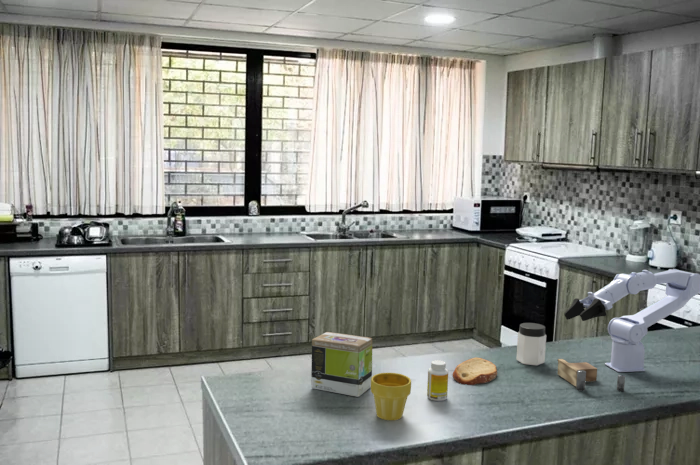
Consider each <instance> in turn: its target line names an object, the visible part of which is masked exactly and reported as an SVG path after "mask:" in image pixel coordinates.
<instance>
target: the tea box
mask: <svg viewBox="0 0 700 465" xmlns="http://www.w3.org/2000/svg"><path fill="white" fill-rule="evenodd" d="M310 375H311V379H310V380H311V389H314V390H319V391H324V392H331V393H336V394H340V395H341V394H342V395H345V396H346V395H347V396H351V397H357V398H359V397H360V396H362V395H363V394H364V393H366V392H367V391H368V390H369V389H371V378H372V377H373V376H372V375H373V338H372V337H368V336H362V335H361V336H359V335H354V334H353V335H352V334H346V333H338V332H331V331H326V332H324V333H322V334H320V335H318V336H317V337H314V338H312V339H311V374H310Z"/></svg>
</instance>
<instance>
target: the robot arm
mask: <svg viewBox="0 0 700 465" xmlns="http://www.w3.org/2000/svg"><path fill="white" fill-rule="evenodd" d="M662 284H663V285H664V284H666V286H665V294H666V295H665V296H664V297H663V298H660V299H659V300H658V301H656V302H654V303H652V304H651V305H649V306H647V307H645V308H643V309H642V310H640V311H638V312H636V313H635V314H629V315H622V316H620V317H613V318H612V319H611V320H610V321H609V323H608V325H607V332H608V335H609V336H610V338H611V340H612V343H611V354H610V362H605V363H604V365H606V366H607V367H609V368H610V369H613V370H615V371H616V372H617V373H629V372H645V371H646V369H645V368H644V367H645V354H646V350H645V345H644V344H643V342H642V340H643V338H644V337H645V336H647V335H648V328H649V327H651V326H652V325H655V324H656V323H658V322H660V321H661V320H664V319H665V318H667V317H668V316H670V315H672V314H674V313H676V312H677V311H679V310H680V309H682V308H684V307H685V305H686V304H687V303H689V301H690V300H691V299H692V298H694V297H695V296H697V295H698V294H700V273H697V272H696V273H693V272H690V271H686V270H685V271H684V270H679V269H676V268H669V269H668V270H664V271H660V272H655V273H653V272H652V271H649V270H647V269H642V270H641V272H635V271H632V272H630V273H629V274H627V273H617V274H616V275H615V276H614V278H613V280H611V282H609V283H608V284H606V285H605V286H603V287H602V288H600V289H599V290H597V291H595V292H592V291H588V292H587V296H586V297H584V298H582V299H579V298H574V299H573V301H572V303H571V305H570V306H569V308H568V309H567V310H566V311H565V312H564V313H563V314H564V317H565V319H566V320H567V321H568V320H572V319H574V318H577V317H580V319H581V321H582V322H585V321H588V320H591V319H595V318H598V317H606V316H607V313H606V311H609V310H611V309H612V308H613V307H614V306H613V305H614V304H615V303H617V302H618V301H620V300H621V299H623V298H624V297H626V296H628V295H637V294H638V293H640V291H646V290H651V289H652V290H653V289H654V288H655V287H656V286H657V285H662Z"/></svg>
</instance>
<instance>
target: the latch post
mask: <svg viewBox="0 0 700 465" xmlns="http://www.w3.org/2000/svg"><path fill="white" fill-rule="evenodd" d="M616 381H617V382H616V391H617V392H620V391H621V392H625V382H626V375H624V374H617V380H616Z"/></svg>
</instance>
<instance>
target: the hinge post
mask: <svg viewBox="0 0 700 465" xmlns="http://www.w3.org/2000/svg"><path fill="white" fill-rule="evenodd" d="M585 380H586V371H584V370H578V371H577V383H576V386H575V390H576V391H580V392H585V390H586V382H585Z"/></svg>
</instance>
